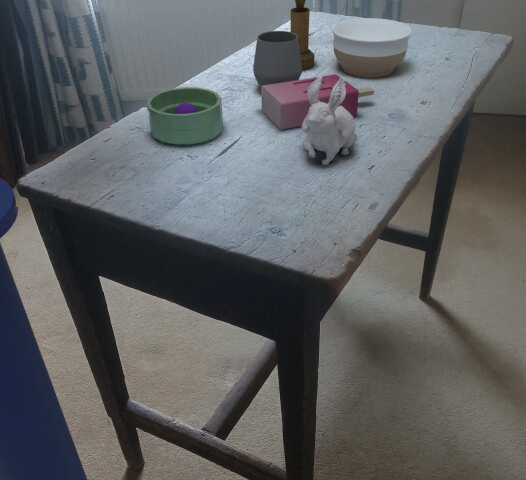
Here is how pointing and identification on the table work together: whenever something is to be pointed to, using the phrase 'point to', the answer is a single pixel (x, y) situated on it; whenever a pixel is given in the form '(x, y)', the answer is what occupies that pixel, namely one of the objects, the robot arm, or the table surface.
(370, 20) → the bowl
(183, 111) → the ball
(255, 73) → the cup
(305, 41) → the wooden pepper mill
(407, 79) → the table surface
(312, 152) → the figurine
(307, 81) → the popsicle
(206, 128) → the green bowl
